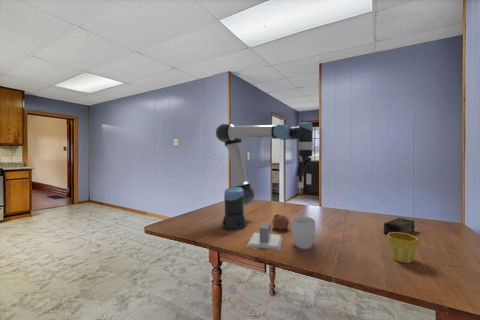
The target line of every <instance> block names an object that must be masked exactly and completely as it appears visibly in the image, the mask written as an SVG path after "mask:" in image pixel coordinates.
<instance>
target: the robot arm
mask: <svg viewBox="0 0 480 320" xmlns="http://www.w3.org/2000/svg"><path fill="white" fill-rule="evenodd" d="M313 131H314V129H313V123H312V122H309V121H308V122H306V121H305V122H300V123H298V125H297V126H288V125H286V124H284V123H280V124H264V125H263V124H261V125H259V124H258V125H234V124H230V123H229V124H227V123H222V124H220V125H218V126H217V127H216V130H215V136H216V138H217V140H218V141H220V142H222V143H224V147H225V148H226V149H227V150H228V156H229V160H230V166H231V167H230V168H231V172H232V176H233V181H234V184H233V185H232V187H227V188H226V189H225V190H224V195H223V196H224V197H223V198H224V215H223V219H222V223H221V226H222V229H223V230H226V231H239V230H243V229H246V228H247V226H248V223H247V220H246V216H245V214H244V213H245V209H244V208H245V206H246V205H248V204H250V203H252V201H253V200H254V199H255V196H256V195H255V193H256V192H255V189H254V188H253V187H252V185H251V182H249V181H248V179H247V173H246V168H245V163H244V158H243V153H242V148H241V146H242V144H243V142H242V139H246V140H247V139H248V140H249V139H250V140H251V139H253V140H255V139H256V140H258V139H273V140H274V139H276V140H277V139H279V140H280V141H283V140H284V141H287V140H289V141H290V140H298V156H299V157H300V158H298V165H297V172H296V177H297V178H298V185H297V186H298V188H300V189H304V186H305V185H304V180H306V185H311V186H312V175H313V174H314V172H313V171H314V170H313V165H312V164H313V163H312V156H313V146H314V143H313V136H314V135H313V134H314V132H313ZM305 171H306V179H304V176H305V175H304V173H305Z"/></svg>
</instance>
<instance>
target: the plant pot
mask: <svg viewBox="0 0 480 320" xmlns="http://www.w3.org/2000/svg"><path fill="white" fill-rule="evenodd" d="M386 235H387V243H388V244H389V248H390V251H391V255H392V259H394V261H396V262H399V263H403V264H411V263H412V262H413V261H414V256H415V253H416V250H417V249H418V248H419V239H418V237H416V236H415V235H412V234H411V233H408V234H406V233H400V232H391V233H388V234H386Z"/></svg>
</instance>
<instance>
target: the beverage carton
mask: <svg viewBox="0 0 480 320" xmlns="http://www.w3.org/2000/svg"><path fill="white" fill-rule="evenodd" d="M415 222H416V221H415V220H412V219H407V218H405V217H398V218H395V219H392V220H389V221H386V222H384V223H383V234H384V235H387V234H388V233H391V232H400V233H406V234H411V233H413V232H414V231H415Z"/></svg>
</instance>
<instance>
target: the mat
mask: <svg viewBox="0 0 480 320" xmlns="http://www.w3.org/2000/svg"><path fill="white" fill-rule="evenodd" d="M253 235H254V233H253V234H252V235H251V236H250V239H249V240H248V242H247V243H246V247H247V248H258V249H266V250H267V249H269V250H276V251H278V250H279V251H281V246H282V242H283V236H281V238H280V242H279V246H278V249H276V248H266V247H257V246H249V242H250V240H251V238H252V236H253Z"/></svg>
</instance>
